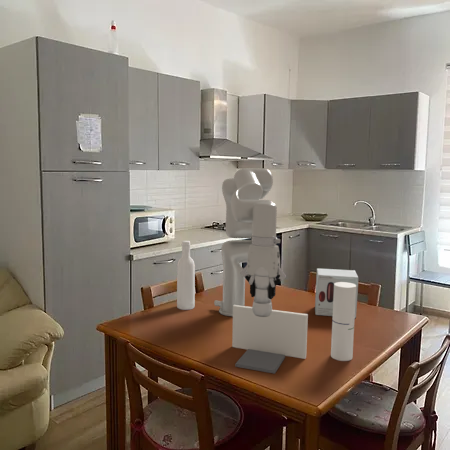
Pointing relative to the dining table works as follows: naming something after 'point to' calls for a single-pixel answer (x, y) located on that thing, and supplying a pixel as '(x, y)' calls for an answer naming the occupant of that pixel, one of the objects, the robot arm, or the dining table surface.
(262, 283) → the plastic bottle
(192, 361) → the dining table surface
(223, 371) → the dining table surface
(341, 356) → the cylindrical container
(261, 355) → the mat
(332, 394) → the dining table surface
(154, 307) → the dining table surface
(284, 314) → the screen
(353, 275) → the supplement box
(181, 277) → the bottle
